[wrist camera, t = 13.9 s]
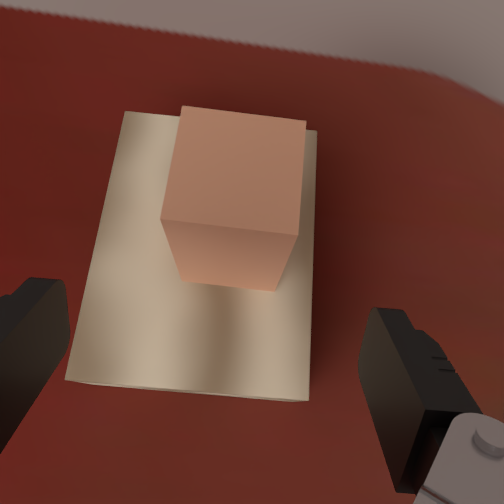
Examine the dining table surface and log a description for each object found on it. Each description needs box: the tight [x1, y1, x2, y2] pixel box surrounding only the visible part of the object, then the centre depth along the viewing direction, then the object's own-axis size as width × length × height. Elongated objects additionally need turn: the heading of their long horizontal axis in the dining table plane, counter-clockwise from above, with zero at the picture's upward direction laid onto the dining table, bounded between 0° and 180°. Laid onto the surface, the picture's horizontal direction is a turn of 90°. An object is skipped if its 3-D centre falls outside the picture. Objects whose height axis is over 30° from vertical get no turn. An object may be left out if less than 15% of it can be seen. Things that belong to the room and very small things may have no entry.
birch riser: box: [65, 111, 317, 402], centre depth 26 cm, size 12×16×5 cm
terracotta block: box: [160, 106, 306, 292], centre depth 20 cm, size 5×5×8 cm
